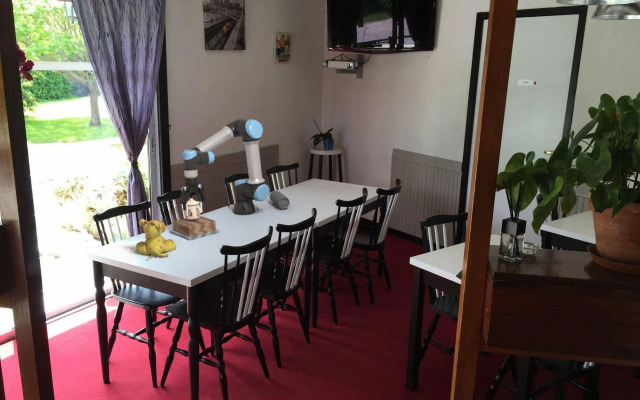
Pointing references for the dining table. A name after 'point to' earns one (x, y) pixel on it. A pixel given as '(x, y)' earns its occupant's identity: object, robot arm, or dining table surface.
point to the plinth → (194, 228)
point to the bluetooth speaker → (279, 199)
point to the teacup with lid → (193, 209)
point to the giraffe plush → (154, 240)
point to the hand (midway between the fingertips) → (193, 213)
